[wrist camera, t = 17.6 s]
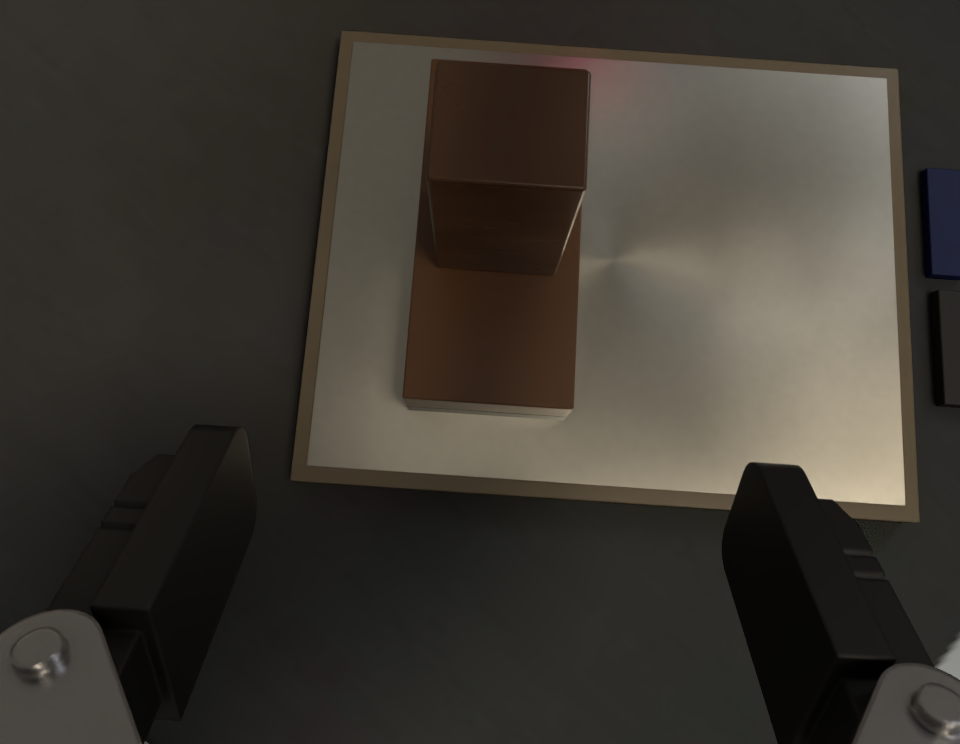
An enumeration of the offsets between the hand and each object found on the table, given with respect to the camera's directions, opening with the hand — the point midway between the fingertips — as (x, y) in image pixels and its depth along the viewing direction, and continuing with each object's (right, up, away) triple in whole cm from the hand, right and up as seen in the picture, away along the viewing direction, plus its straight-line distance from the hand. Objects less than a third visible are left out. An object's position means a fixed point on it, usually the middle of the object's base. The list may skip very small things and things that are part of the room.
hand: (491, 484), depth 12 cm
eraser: (0, +6, +13) cm, 14 cm away
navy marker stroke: (+16, +7, +14) cm, 23 cm away
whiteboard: (+4, +5, +14) cm, 16 cm away
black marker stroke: (+16, +3, +13) cm, 21 cm away
